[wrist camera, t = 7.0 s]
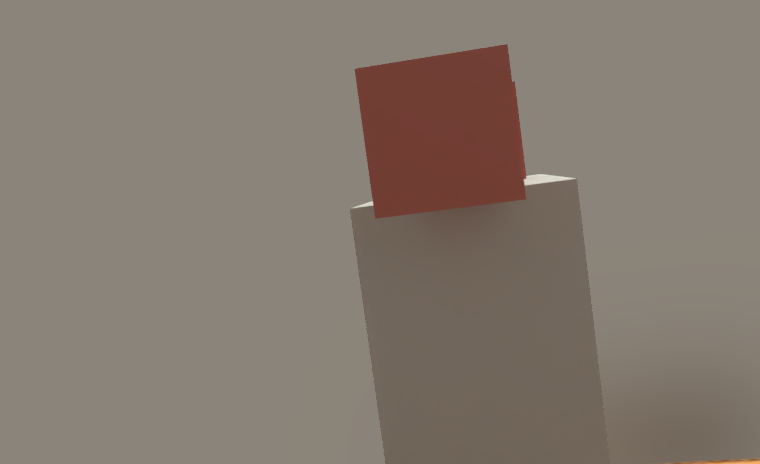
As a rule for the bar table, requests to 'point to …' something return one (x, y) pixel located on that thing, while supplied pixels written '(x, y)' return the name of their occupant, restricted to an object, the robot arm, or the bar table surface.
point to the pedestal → (483, 331)
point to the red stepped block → (442, 132)
